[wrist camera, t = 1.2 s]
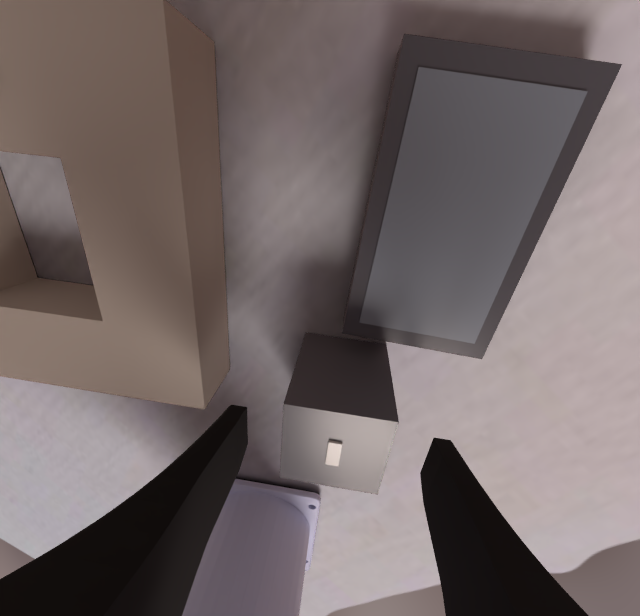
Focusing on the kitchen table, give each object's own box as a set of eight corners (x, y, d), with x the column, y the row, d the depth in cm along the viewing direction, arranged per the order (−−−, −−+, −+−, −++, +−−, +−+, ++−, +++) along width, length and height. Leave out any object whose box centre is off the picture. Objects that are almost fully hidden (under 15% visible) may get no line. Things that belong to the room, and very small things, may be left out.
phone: (466, 335, 14) (482, 360, 13) (344, 312, 15) (342, 334, 13) (574, 82, 10) (623, 63, 8) (396, 57, 10) (404, 32, 8)
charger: (372, 404, 16) (377, 496, 12) (300, 393, 17) (278, 479, 12) (386, 343, 15) (398, 424, 10) (306, 332, 15) (283, 406, 10)
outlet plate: (230, 369, 16) (203, 411, 14) (-5, 333, 17) (-76, 366, 14) (214, 42, 10) (159, -6, 7) (-150, 11, 11) (-323, -41, 8)
